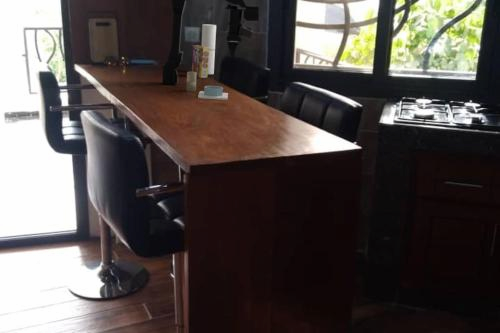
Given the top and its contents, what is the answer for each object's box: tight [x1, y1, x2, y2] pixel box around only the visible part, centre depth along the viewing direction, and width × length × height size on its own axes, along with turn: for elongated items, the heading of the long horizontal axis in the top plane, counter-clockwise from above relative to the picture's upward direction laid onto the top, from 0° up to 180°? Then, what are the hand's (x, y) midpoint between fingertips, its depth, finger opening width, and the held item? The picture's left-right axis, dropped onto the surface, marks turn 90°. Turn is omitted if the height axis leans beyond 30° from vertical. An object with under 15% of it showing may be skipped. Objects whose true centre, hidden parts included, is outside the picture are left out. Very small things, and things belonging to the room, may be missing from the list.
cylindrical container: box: [201, 23, 217, 75], centre depth 291 cm, size 7×7×25 cm
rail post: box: [186, 71, 197, 93], centre depth 240 cm, size 4×4×8 cm
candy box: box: [191, 44, 209, 79], centre depth 279 cm, size 9×4×15 cm, turn 39°
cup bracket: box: [197, 85, 229, 101], centre depth 231 cm, size 12×12×4 cm
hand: (232, 56), depth 250 cm, fingers open, 9 cm apart
